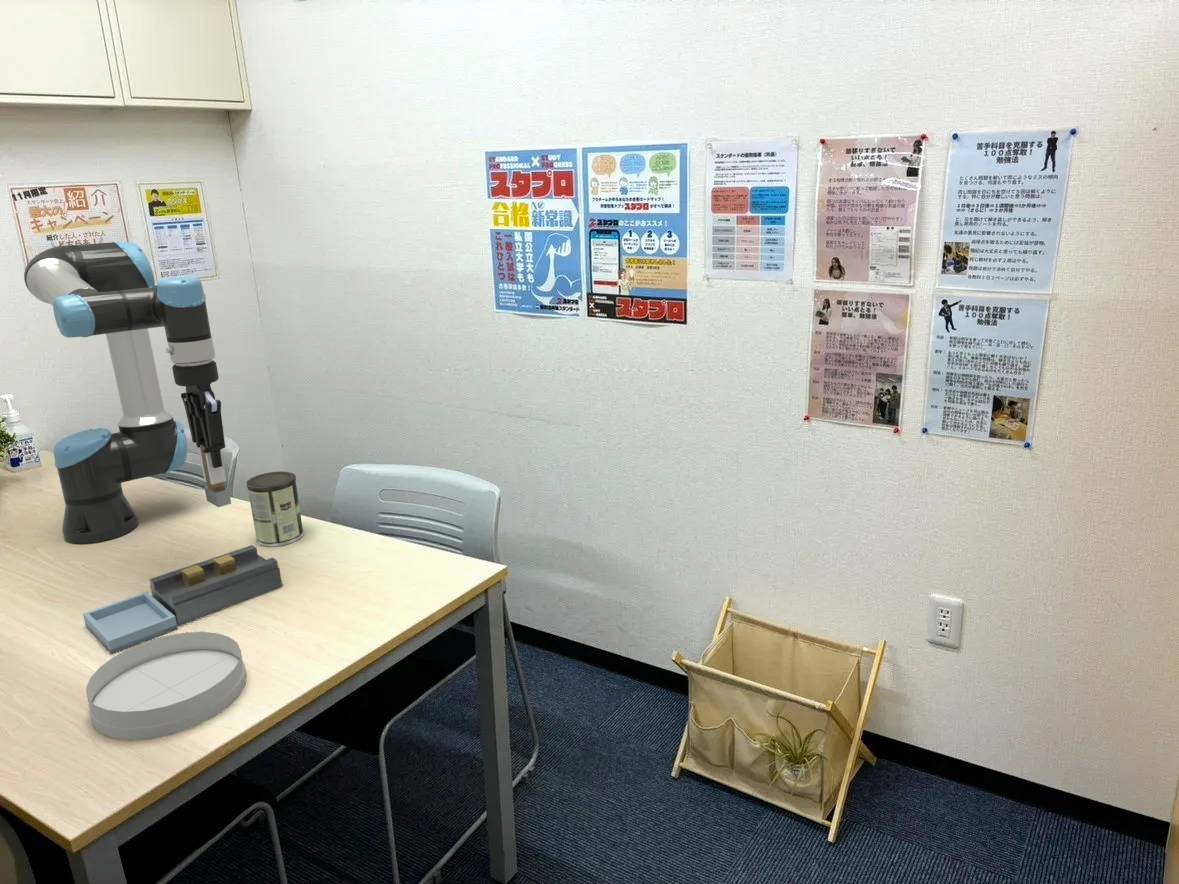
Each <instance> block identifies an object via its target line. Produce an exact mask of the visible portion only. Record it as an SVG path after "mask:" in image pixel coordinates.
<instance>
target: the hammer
mask: <svg viewBox="0 0 1179 884" xmlns="http://www.w3.org/2000/svg"><path fill="white" fill-rule="evenodd" d="M199 449H201V454H202V459H203V465H204V470H205V475H206V481H205V482H206V484H207V485H205V486H204V491H205V498H206V501H207V502H209V504H212V505H213V506H215V507H217V508H221V507H225V506H228V505H232V500H231V499H232V498H231V495H230V489H229V488H227V487H226V486H225V481H224V482H221V483H217V484H213V485H212V484H211V482H210V477H209V471H208V466H207V461H206V455H205V454H204V453H203V450H206V444H205V443H203V444H200V447H199Z"/></svg>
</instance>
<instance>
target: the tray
mask: <svg viewBox="0 0 1179 884" xmlns="http://www.w3.org/2000/svg"><path fill="white" fill-rule="evenodd" d="M82 617H83V619H84V625H85V627H86V628H87V629H88V631H90V633H92V635H94V637H95V638H96V639H97V640H98V641H99V642H100V643H101V644H102V645H103V647H105V649H106V650H107V651H108V652H109V653H110V654H111V655H113V654H115V653H118V652H121V651H123V650H124V651H125V650H127V649H129V648H132V647H134V646H137V645H139V644H142V643H144V642H147V641H150V640H153V639H156V638H159V637H161V636H162V635H165V634H168V633H171V632H173V631H176V630H178V625H177V623H176V618H175V616H174V615H173V614H172V613H171V612H169V611H168V610H167V609H166V608H165V607H164V606H163V605H161V604H160V603H159V602H158V601H157V600H156V599H154V598H153V597H152V594H150V593H149V592H142V593H139V594H137V595H133V596H131V597H127V598H124V599H122V600H119V601H115V602H113V603H111V604H107V605H105V606H101V607H99V608H95V609H93V610H91V611H88V612H84V613H82Z"/></svg>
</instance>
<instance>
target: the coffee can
mask: <svg viewBox="0 0 1179 884" xmlns="http://www.w3.org/2000/svg"><path fill="white" fill-rule="evenodd" d="M296 477H297V476H296V474H295V473H293V472H289V471H270V472H265V473H261V474H257V475H255V476H253V477H251V478H249V479H248V480H247V481H246V483H245V484H246V487H247V492H248V497H249V498H248V499H249V504H250V511H251V515H252V521H253V527H254V532H255V538H256V543H257V544H258V545H259V546H261V547H281V546H286V545H289V544H292V543H295V542H296V541H299V540H300V539H302V538H303V536H304V533H305V532H304V527H303V522H302V515H301V509H300V503H299V502H300V501H299V496H298V495H299V494H298V489H297V488H298V487H297V478H296Z"/></svg>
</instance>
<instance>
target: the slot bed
mask: <svg viewBox="0 0 1179 884" xmlns="http://www.w3.org/2000/svg"><path fill="white" fill-rule="evenodd" d="M225 555H230V556H231V557H233V558H234V559H235V564H236V569H237V570H236V571H233V572H230V573H227V574H224V575H222V576H218V575H217V574H215V569H214V564H213V559H216V558H219V557H222V556H225ZM195 565H198V566H199V567H201V568H202V569H203V570H204V575H205V580H206V581H204V582H202V583H199V584H196V585H193V586H190V587H186V586H185V585H184V584H183V578H182V573H181V570H183V569H186V568H189V567H192V566H195ZM149 584H150V585H149V588H150V592H151V596H152V597H153V598H154V599H156V600H157V601H158V602H159V603H160V604H161V605H163V606H164V607H165V608H166V609H167V610H168V611H169V612H171V613H172V614H173V615H174V616H175V618H176V623H177V627H178V626H179V627H180V626H181V625H184V624H186V623H189V622H192V621H195V620H197V619H200V618H203V617H205V616H208V615H210V614H211V615H212V614H214V613H216V612H218V611H222V610H223V609H226V608H229V607H231V606H234V605H237V604H239V603H242V602H245V601H246V600H250V599H253V598H256V597H258V596H260V595H263V594H266V593H269V592H271V591H274V590H276V589H279V588H282V587H283V583H282V574H281V569H280V567H279V564H278V560H277V559H276V558H275V557H269V558H267V559H265V558H264V557H262V556H261V555H259V554H258V549H257V547H256V546H254V545H248V546H245V547H242V548H238V549H237V550H232V551H230V552H227V553H224V554H221V555H218V556H215V557H212V558H209V559H206V560H203V561H200V562H197V563H194V564H191V565H188V566H184V567H182V568H179V569H177V570H174V571H173V570H172V571H170V572H167V573H164V574H161V575H158V576H155V577H151V578H149Z"/></svg>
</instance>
